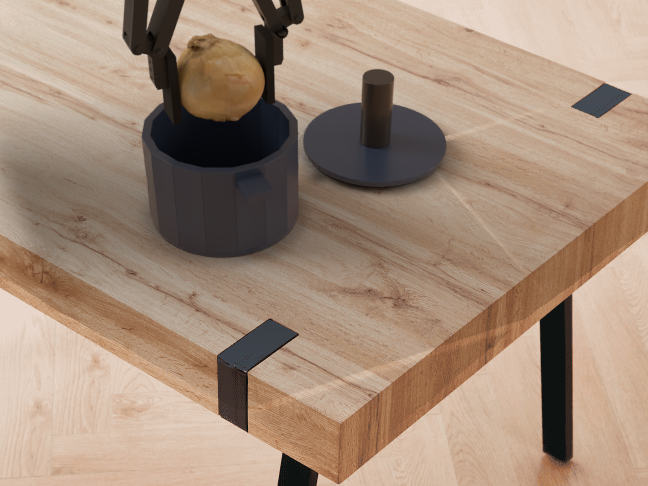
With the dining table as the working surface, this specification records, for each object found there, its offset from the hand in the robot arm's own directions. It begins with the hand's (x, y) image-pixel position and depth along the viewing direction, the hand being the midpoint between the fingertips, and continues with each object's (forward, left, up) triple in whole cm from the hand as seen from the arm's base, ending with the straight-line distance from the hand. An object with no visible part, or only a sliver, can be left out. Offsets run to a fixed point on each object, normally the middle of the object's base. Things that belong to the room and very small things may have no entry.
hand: (220, 106), depth 96 cm
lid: (+18, +4, -11) cm, 22 cm away
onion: (0, 0, 0) cm, 0 cm away
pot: (0, 0, -12) cm, 12 cm away
